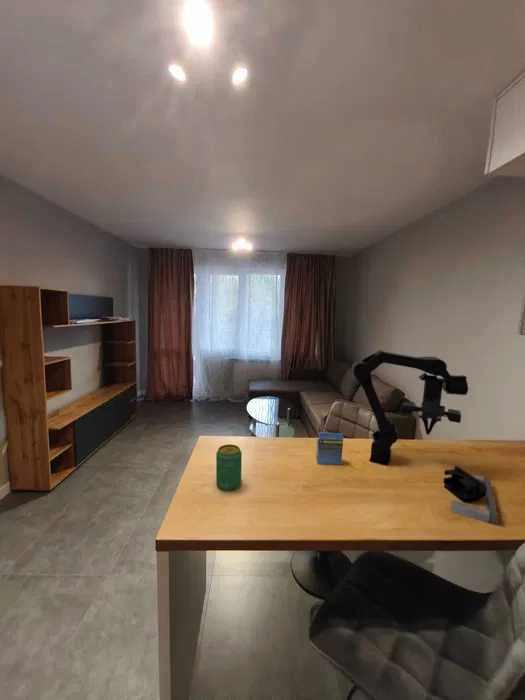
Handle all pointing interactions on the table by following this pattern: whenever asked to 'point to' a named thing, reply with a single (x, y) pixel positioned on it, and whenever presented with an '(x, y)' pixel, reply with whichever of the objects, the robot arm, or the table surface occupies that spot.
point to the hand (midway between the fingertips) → (427, 434)
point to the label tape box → (329, 448)
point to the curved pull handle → (476, 512)
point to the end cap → (464, 485)
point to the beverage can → (228, 467)
